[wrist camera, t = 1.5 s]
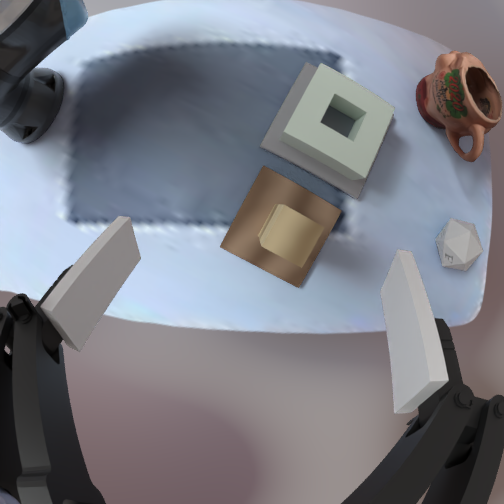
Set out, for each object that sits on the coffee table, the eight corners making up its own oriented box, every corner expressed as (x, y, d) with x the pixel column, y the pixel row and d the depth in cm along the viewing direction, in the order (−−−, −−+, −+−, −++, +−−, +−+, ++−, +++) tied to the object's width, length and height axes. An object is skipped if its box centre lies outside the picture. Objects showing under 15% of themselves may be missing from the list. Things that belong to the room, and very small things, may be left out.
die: (432, 211, 41) (442, 244, 34) (474, 208, 36) (490, 240, 30) (432, 248, 45) (439, 284, 38) (471, 245, 40) (483, 280, 34)
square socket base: (259, 147, 38) (261, 137, 32) (305, 64, 36) (313, 47, 30) (355, 198, 39) (371, 199, 34) (391, 115, 37) (409, 106, 31)
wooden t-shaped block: (220, 245, 41) (210, 261, 30) (263, 166, 39) (268, 153, 28) (297, 285, 42) (313, 313, 31) (339, 210, 40) (370, 214, 29)
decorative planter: (463, 170, 39) (516, 167, 25) (415, 162, 38) (470, 153, 25) (449, 75, 35) (492, 53, 21) (400, 58, 35) (441, 25, 21)
